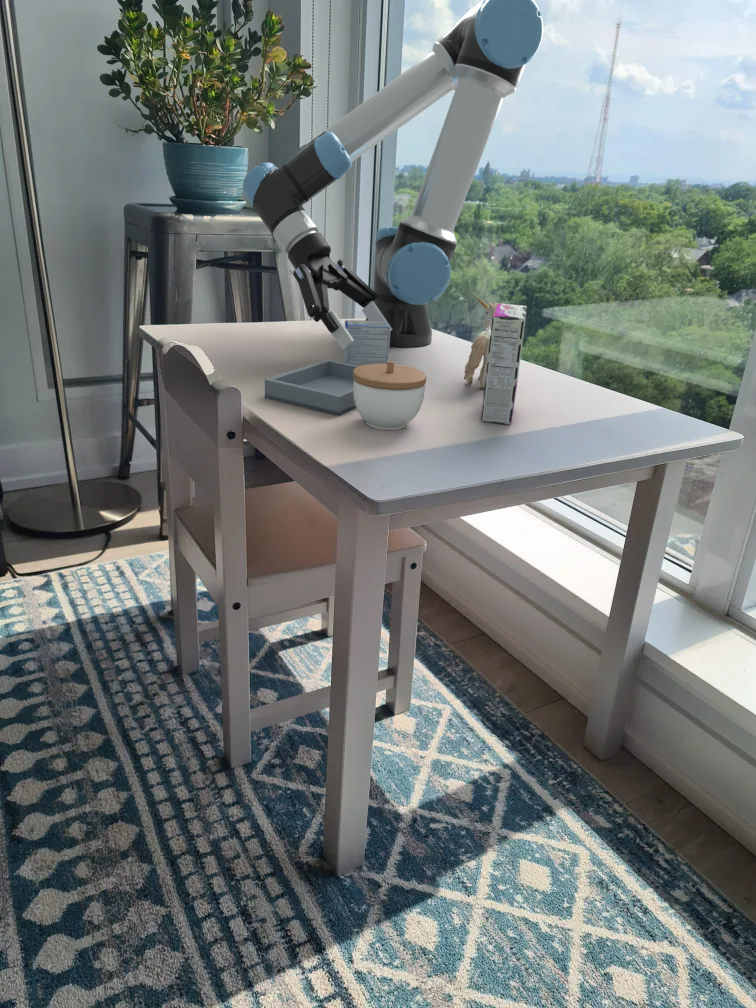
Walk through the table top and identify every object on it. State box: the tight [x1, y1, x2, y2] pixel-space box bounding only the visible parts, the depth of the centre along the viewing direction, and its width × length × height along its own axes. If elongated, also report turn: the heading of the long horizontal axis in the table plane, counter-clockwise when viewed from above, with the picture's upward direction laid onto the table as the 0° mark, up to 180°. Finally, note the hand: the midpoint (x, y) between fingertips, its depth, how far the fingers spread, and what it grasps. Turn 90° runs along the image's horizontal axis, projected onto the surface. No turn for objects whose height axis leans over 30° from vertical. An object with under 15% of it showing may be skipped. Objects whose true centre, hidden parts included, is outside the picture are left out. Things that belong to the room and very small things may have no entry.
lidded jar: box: [353, 360, 427, 431], centre depth 112 cm, size 11×11×9 cm
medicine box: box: [342, 319, 391, 366], centre depth 141 cm, size 8×4×9 cm, turn 100°
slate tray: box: [264, 358, 359, 417], centre depth 126 cm, size 18×14×3 cm
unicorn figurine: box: [463, 296, 499, 390], centre depth 138 cm, size 7×20×13 cm, turn 171°
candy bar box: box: [480, 302, 528, 425], centre depth 119 cm, size 11×5×16 cm, turn 168°
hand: (368, 339), depth 140 cm, fingers open, 13 cm apart
